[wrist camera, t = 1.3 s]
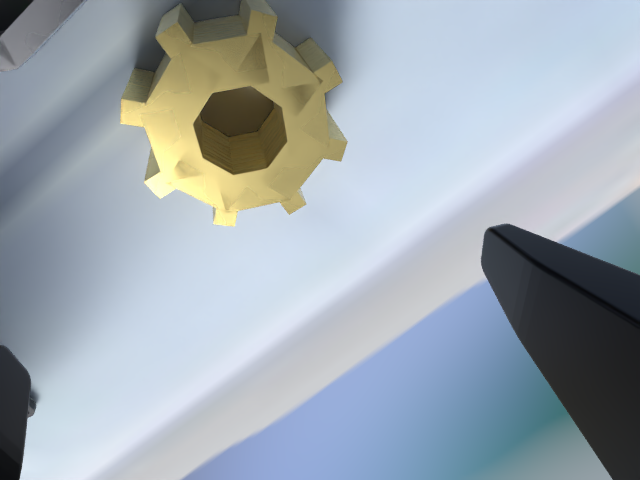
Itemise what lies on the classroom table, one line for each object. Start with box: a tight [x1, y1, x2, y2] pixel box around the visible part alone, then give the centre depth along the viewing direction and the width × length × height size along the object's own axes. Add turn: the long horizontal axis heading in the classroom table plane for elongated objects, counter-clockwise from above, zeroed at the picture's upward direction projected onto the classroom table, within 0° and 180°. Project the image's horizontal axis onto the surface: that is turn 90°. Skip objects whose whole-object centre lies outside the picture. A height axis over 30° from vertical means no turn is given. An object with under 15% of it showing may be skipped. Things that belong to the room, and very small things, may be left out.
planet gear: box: [120, 0, 347, 226], centre depth 17 cm, size 7×7×4 cm
